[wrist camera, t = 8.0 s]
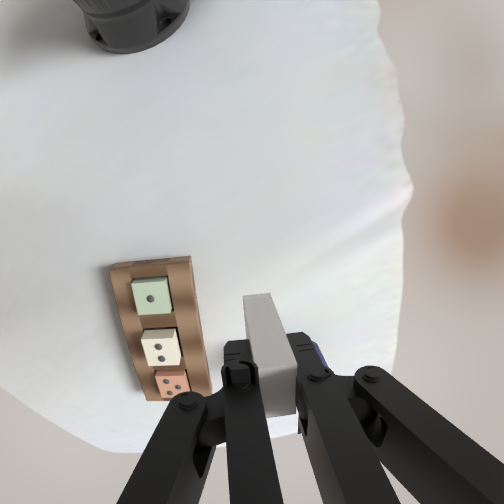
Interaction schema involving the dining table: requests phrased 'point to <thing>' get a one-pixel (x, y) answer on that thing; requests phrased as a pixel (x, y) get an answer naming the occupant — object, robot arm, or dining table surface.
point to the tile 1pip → (152, 295)
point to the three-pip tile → (172, 382)
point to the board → (163, 321)
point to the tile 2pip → (161, 347)
